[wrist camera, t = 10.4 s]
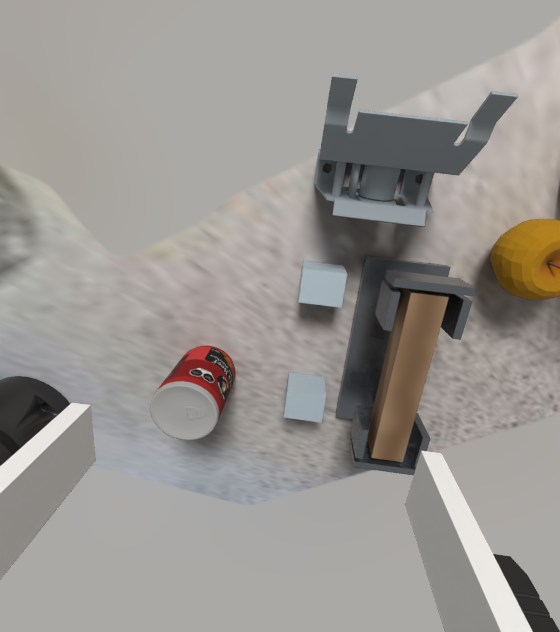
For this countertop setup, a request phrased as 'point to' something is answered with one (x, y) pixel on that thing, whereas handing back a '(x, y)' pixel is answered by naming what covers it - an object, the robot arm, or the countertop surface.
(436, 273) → the bracket
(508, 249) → the apple
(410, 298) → the rail
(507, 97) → the bracket
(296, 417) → the rest block
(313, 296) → the rest block
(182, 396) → the canned food
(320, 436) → the countertop surface
